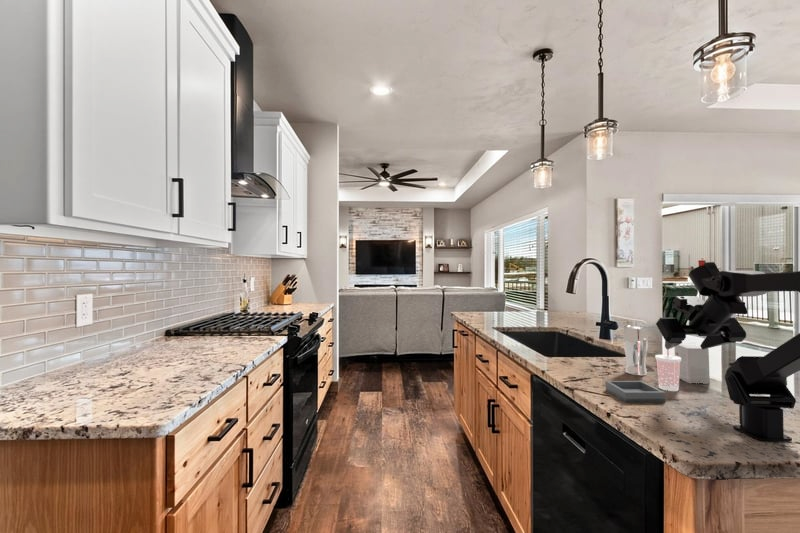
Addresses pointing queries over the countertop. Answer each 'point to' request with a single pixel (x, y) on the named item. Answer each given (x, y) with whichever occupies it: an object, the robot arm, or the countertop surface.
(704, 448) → the countertop surface
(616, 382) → the tray
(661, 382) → the beverage cup
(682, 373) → the small box
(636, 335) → the beer glass
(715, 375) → the countertop surface
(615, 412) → the countertop surface
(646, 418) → the countertop surface
